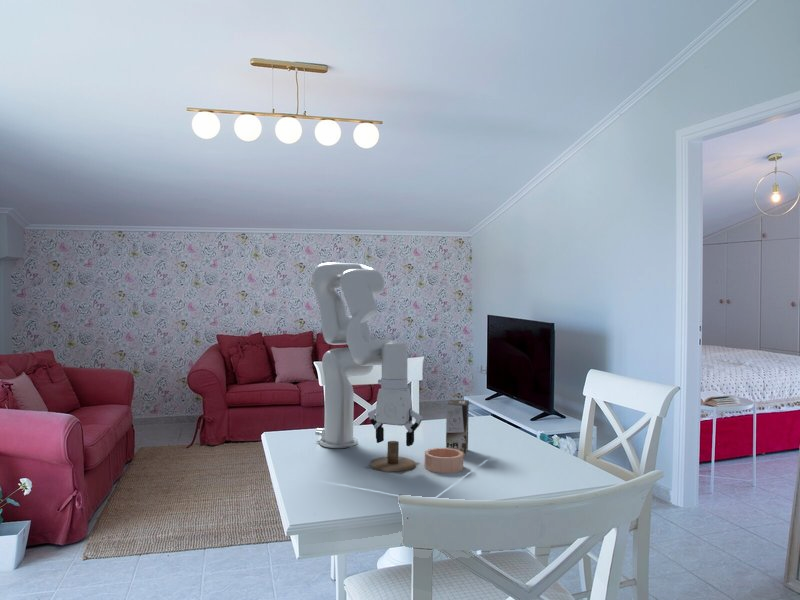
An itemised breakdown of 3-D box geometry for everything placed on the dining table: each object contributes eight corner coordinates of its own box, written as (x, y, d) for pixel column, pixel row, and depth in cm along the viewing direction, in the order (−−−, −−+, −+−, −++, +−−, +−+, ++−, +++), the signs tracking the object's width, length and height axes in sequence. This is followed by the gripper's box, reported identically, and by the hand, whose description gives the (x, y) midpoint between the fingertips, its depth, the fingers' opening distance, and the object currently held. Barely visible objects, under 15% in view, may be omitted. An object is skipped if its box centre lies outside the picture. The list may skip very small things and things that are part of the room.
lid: (362, 467, 180) (362, 444, 179) (383, 456, 191) (384, 434, 191) (402, 474, 174) (403, 450, 174) (422, 463, 185) (422, 440, 185)
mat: (364, 468, 180) (364, 467, 180) (384, 458, 191) (384, 457, 191) (401, 475, 174) (401, 473, 174) (420, 464, 185) (420, 463, 185)
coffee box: (465, 457, 194) (466, 405, 194) (445, 455, 195) (446, 404, 195) (468, 449, 203) (469, 399, 203) (448, 448, 204) (449, 398, 204)
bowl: (418, 470, 179) (418, 454, 179) (433, 460, 189) (434, 446, 189) (454, 476, 174) (454, 460, 174) (468, 466, 184) (468, 451, 184)
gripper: (362, 384, 182) (362, 443, 182) (416, 387, 174) (416, 449, 174) (374, 381, 189) (375, 438, 189) (427, 384, 181) (427, 443, 181)
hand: (394, 443), depth 182 cm, fingers open, 9 cm apart
